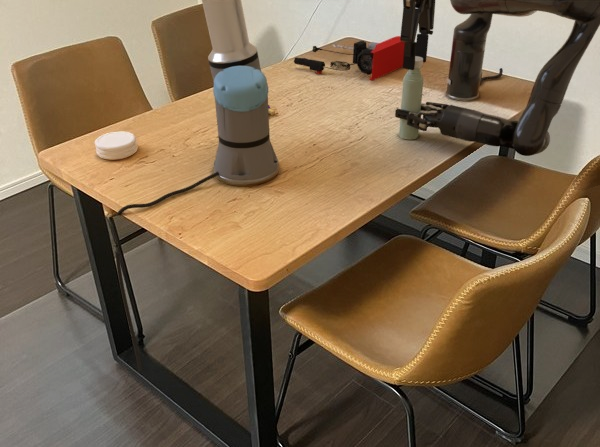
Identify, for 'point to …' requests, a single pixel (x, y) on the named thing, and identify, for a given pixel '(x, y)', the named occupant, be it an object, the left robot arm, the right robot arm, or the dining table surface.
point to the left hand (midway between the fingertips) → (414, 64)
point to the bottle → (411, 101)
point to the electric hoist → (365, 58)
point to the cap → (418, 62)
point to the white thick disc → (116, 145)
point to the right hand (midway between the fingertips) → (401, 109)
